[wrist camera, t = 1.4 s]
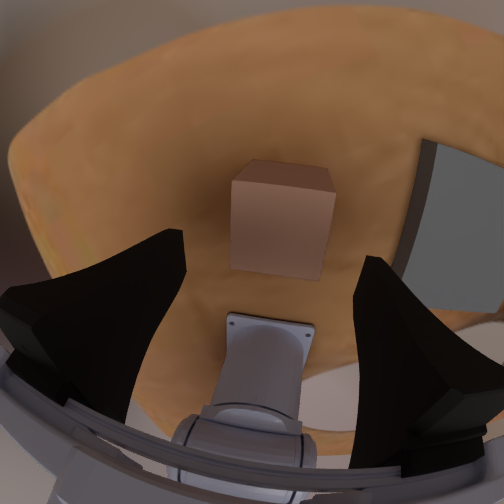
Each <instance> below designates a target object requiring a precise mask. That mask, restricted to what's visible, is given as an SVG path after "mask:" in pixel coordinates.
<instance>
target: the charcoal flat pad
mask: <svg viewBox="0 0 504 504" xmlns="http://www.w3.org/2000/svg"><path fill="white" fill-rule="evenodd" d="M391 268H392V270H393V271H394V272H395V273H396V274H397V275H398V277H399V278H400V279H401V280H402V281H403V282H404V283H405V285H406V286H407V287H408V288H409V289H410V290H411V291H412V292H413V294H414V295H415V296H416V297H417V298H418V299H419V300H420V301H421V302H422V303H423V304H424V305H425V306H426V307H427V308H433V309H444V310H457V311H470V312H485V313H496V312H497V310H498V309H499V307H500V305H501V303H502V301H503V299H504V169H503V168H501V167H499V166H496V165H494V164H492V163H490V162H487V161H485V160H482V159H480V158H478V157H475V156H473V155H470V154H467V153H465V152H462V151H459V150H457V149H454V148H451V147H448V146H445V145H442V144H439V143H436V142H433V141H429V140H426V139H423V140H422V146H421V152H420V158H419V164H418V169H417V174H416V179H415V184H414V188H413V193H412V197H411V201H410V205H409V209H408V213H407V217H406V221H405V225H404V228H403V232H402V235H401V239H400V242H399V245H398V249H397V252H396V255H395V258H394V261H393V264H392V267H391Z"/></svg>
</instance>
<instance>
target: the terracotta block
mask: <svg viewBox="0 0 504 504" xmlns="http://www.w3.org/2000/svg"><path fill="white" fill-rule="evenodd" d="M335 199H336V190H335V188H334V185H333V182H332V180H331V177H330V174H329V172H328V169H327V168H321V167H314V166H307V165H299V164H291V163H283V162H273V161H264V160H253V161H252V162H250V163H249V164H248V165H247V166H246V167H245V168H244V169H243V170H242V171H241V172H240V173H239V174H238V175H237V176H236V177H235V178H234V179H233V180H232V189H231V221H230V264H229V268H230V269H236V270H243V271H249V272H256V273H263V274H270V275H277V276H284V277H291V278H298V279H305V280H312V281H319V280H320V276H321V271H322V267H323V262H324V257H325V252H326V247H327V243H328V237H329V232H330V227H331V222H332V216H333V211H334V205H335Z"/></svg>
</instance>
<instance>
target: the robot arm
mask: <svg viewBox="0 0 504 504" xmlns="http://www.w3.org/2000/svg"><path fill="white" fill-rule="evenodd" d="M186 272H187V270H186V261H185V252H184V242H183V231H182V230H177V229H166V230H164V231H161V232H159V233H157V234H155V235H153V236H151V237H149V238H147V239H146V240H144V241H142V242H140V243H138V244H136V245H134V246H132V247H130V248H129V249H127V250H125V251H122V252H120V253H118V254H116V255H114V256H112V257H110V258H109V259H106V260H104V261H102V262H100V263H97V264H95V265H92V266H90V267H88V268H85V269H82V270H80V271H76V272H73V273H70V274H67V275H65V276H61V277H58V278H54V279H51V280H46V281H42V282H38V283H33V284H27V285H21V286H13V287H10V288H8V289H7V290H6V291H5V292H4V293H3V294H2V295H1V297H0V328H1V330H2V331H3V333H4V334H5V336H6V337H7V339H8V340H9V342H10V343H11V344H12V346H13V347H14V349H15V350H14V351H13V352H12V354H10V352H8V350H7V349H6V348H4V347H3V346H2V345H1V344H0V426H1V427H2V428H3V429H4V431H5V432H6V433H7V434H8V435H9V436H10V437H11V438H12V439H13V440H14V441H15V442H16V443H17V444H18V445H19V446H20V447H21V448H22V449H23V450H24V451H25V452H26V453H27V454H28V455H29V456H30V457H31V458H32V459H33V460H34V461H36V462H37V463H38V464H39V465H40V466H41V467H42V468H43V469H45V470H46V471H47V472H48V473H49V474H51V475H52V476H53V477H54V478H56V479H57V480H56V482H55V484H54V487H53V490H52V493H51V495H50V497H49V500H48V502H47V504H496V503H498V502H500V501H502V500H503V499H504V435H503V436H500V437H497V438H494V439H492V440H489V441H487V442H485V443H483V439H482V436H484V435H485V434H486V433H487V428H486V424H487V423H488V422H489V421H490V420H492V419H493V418H494V417H495V416H497V415H498V414H499V413H500V412H501V411H503V410H504V367H503V366H502V365H500V364H498V363H496V362H495V361H493V360H491V359H489V358H488V357H486V356H485V355H483V354H482V353H480V352H479V351H477V350H476V349H474V348H473V347H472V346H470V345H469V344H467V343H466V342H465V341H464V340H462V339H461V338H460V337H458V336H457V335H456V334H455V333H454V332H452V331H451V330H450V329H449V328H448V327H447V326H445V325H444V324H443V323H442V322H441V321H440V320H439V319H438V318H437V317H436V316H435V315H434V314H433V313H432V312H430V311H429V310H428V309H427V307H426V306H425V305H424V304H423V303H422V302H421V301H420V300H419V299H418V298H417V297H416V296H415V295H414V294H413V292H412V291H411V290H410V289H409V288H408V287H407V286H406V285H405V283H404V282H403V281H402V280H401V279H400V278H399V277H398V275H397V274H396V273H395V272H394V271H393V270H392V268H391V267H390V266H389V265H388V264H387V263H386V262H385V261H384V260H383V259H382V258H381V257H374V256H367V255H366V258H365V262H364V265H363V268H362V271H361V274H360V277H359V280H358V283H357V286H356V289H355V292H354V295H353V320H354V327H355V335H356V343H357V351H358V360H359V372H360V381H359V404H358V415H357V425H356V431H355V438H354V444H353V450H352V455H351V460H350V464H349V468H348V469H316V462H317V448H316V444H315V442H314V441H313V439H312V438H311V436H310V435H309V434H306V433H301V431H302V422H301V421H298V414H299V405H300V394H301V383H302V371H303V368H304V365H305V362H306V359H307V356H308V353H309V349H310V346H311V343H312V339H313V336H314V333H315V328H314V326H312V325H306V324H299V323H292V322H285V321H278V320H271V319H265V318H258V317H252V316H246V315H240V314H235V313H230V314H228V316H227V355H226V358H225V361H224V364H223V367H222V370H221V373H220V376H219V379H218V382H217V385H216V388H215V391H214V394H213V396H212V399H211V402H210V405H203V408H202V411H201V414H200V415H197V414H191V415H189V416H188V417H187V418H185V419H183V420H182V421H181V422H180V424H179V425H178V427H177V428H176V430H175V432H174V435H173V437H172V440H171V442H169V441H166V440H163V439H160V438H157V437H155V436H152V435H149V434H147V433H144V432H141V431H139V430H136V429H134V428H131V427H129V426H127V425H125V420H126V415H127V411H128V407H129V403H130V399H131V395H132V392H133V388H134V385H135V382H136V379H137V376H138V373H139V370H140V367H141V364H142V361H143V359H144V356H145V354H146V351H147V349H148V346H149V344H150V341H151V339H152V337H153V335H154V333H155V331H156V330H157V328H158V326H159V324H160V323H161V321H162V319H163V317H164V316H165V314H166V312H167V311H168V309H169V307H170V305H171V304H172V302H173V300H174V298H175V297H176V295H177V293H178V291H179V289H180V287H181V284H182V282H183V280H184V277H185V274H186ZM232 322H234V323H232ZM307 333H309V334H307ZM96 435H97V436H99V437H101V438H103V439H105V440H107V441H109V442H111V443H113V444H115V445H117V446H120V447H122V448H124V449H126V450H129V451H131V452H133V453H136V454H138V455H141V456H143V457H146V458H148V459H151V460H154V461H156V462H159V463H162V464H165V465H166V469H167V474H168V478H165V477H162V476H159V475H156V474H153V473H151V472H148V471H145V470H143V467H142V466H141V465H140V464H138V463H137V462H135V461H133V460H131V459H130V458H128V457H127V456H125V455H124V454H123V453H122V452H121V451H120V450H119V449H118V448H116V447H114V446H112V445H111V444H109V443H107V442H105V441H103V440H102V439H100V438H98V437H97V436H96ZM309 492H342V493H331V494H316V495H315V496H313V499H309V500H305V499H306V498H307V496H308V494H309Z"/></svg>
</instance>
